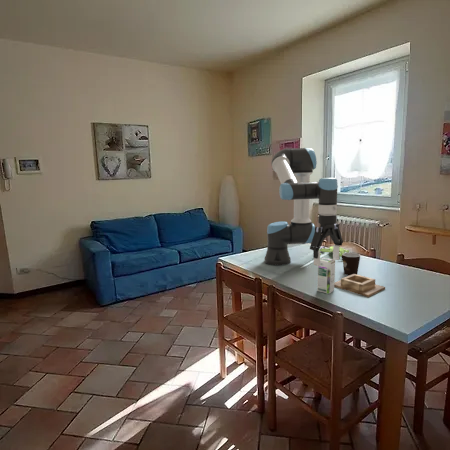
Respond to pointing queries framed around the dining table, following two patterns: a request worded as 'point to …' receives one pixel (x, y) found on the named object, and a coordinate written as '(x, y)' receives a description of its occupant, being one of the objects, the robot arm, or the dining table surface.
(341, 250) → the figurine
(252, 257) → the dining table surface
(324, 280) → the syrup box
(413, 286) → the dining table surface
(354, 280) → the wooden socket base
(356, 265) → the coffee mug
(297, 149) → the robot arm
